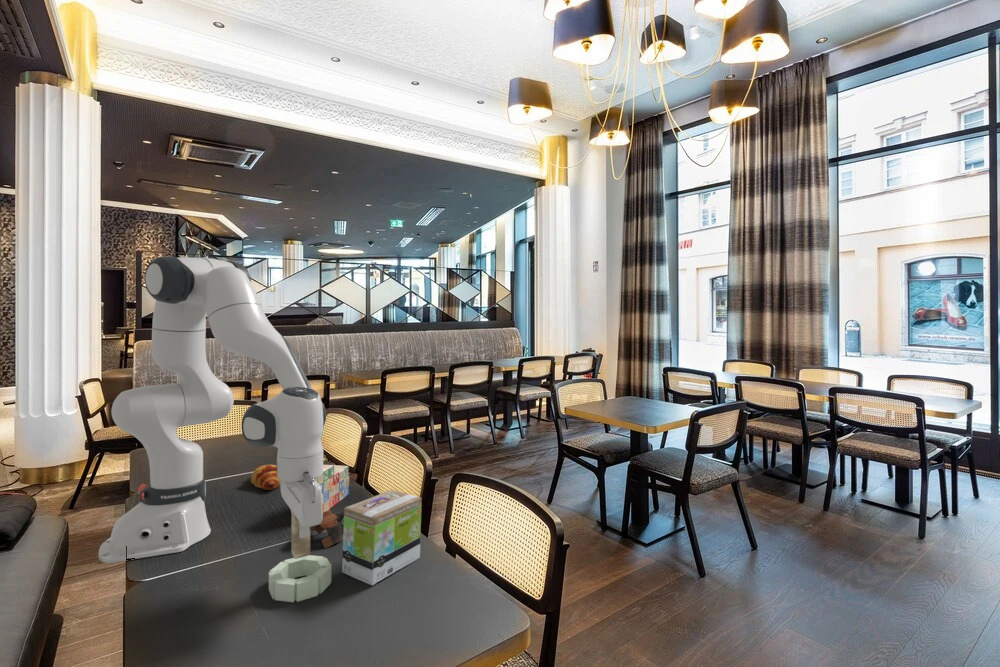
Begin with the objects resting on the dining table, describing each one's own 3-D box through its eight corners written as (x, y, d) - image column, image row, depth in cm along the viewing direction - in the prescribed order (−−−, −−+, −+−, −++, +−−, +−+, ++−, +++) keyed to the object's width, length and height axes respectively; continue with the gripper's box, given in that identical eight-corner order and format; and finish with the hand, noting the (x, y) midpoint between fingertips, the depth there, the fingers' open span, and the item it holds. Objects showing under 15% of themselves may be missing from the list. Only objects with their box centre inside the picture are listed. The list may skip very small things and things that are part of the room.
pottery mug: (313, 555, 115) (301, 522, 117) (308, 557, 123) (296, 526, 124) (361, 530, 122) (348, 499, 124) (353, 533, 129) (341, 504, 131)
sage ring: (276, 608, 93) (276, 590, 93) (265, 581, 103) (265, 565, 102) (336, 589, 100) (336, 572, 100) (321, 566, 109) (321, 550, 109)
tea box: (373, 587, 101) (374, 517, 100) (341, 573, 106) (341, 507, 106) (421, 558, 114) (422, 495, 113) (390, 547, 119) (391, 487, 118)
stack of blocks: (331, 493, 154) (331, 455, 154) (349, 495, 153) (349, 456, 153) (290, 520, 133) (290, 476, 133) (311, 522, 132) (311, 478, 132)
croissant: (254, 486, 170) (241, 467, 168) (281, 468, 175) (269, 450, 173) (263, 504, 152) (250, 484, 150) (293, 484, 157) (281, 464, 155)
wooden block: (294, 559, 99) (294, 510, 99) (291, 553, 101) (291, 505, 101) (310, 555, 101) (310, 507, 100) (306, 549, 103) (306, 502, 103)
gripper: (331, 477, 94) (330, 547, 94) (304, 452, 110) (304, 512, 111) (296, 483, 90) (296, 556, 91) (274, 457, 107) (274, 519, 107)
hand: (300, 532), depth 101 cm, fingers closed on wooden block, 3 cm apart
